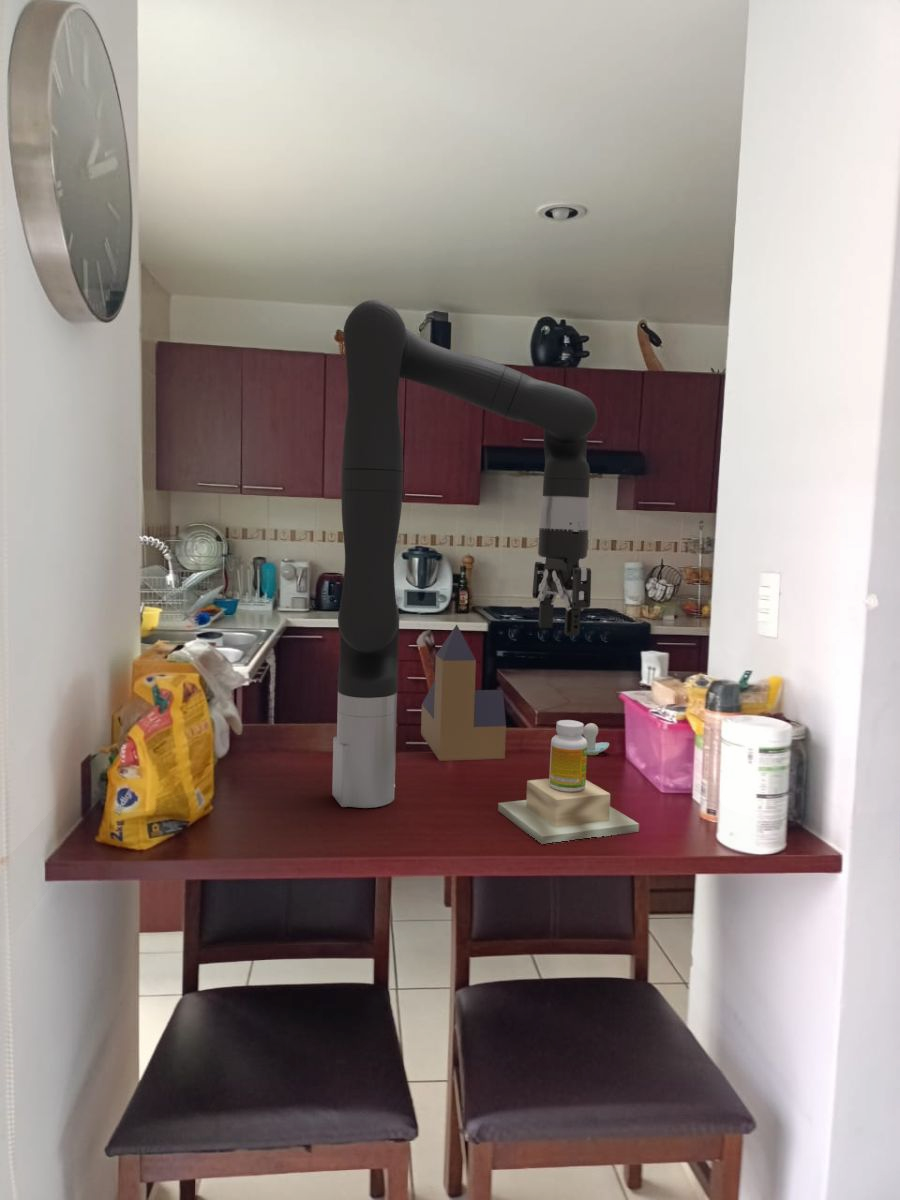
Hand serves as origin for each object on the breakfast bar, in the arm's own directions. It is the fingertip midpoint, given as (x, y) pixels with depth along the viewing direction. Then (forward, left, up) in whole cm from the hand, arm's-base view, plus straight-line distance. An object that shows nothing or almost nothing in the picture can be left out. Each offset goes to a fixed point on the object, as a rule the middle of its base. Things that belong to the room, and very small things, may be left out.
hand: (558, 631), depth 129 cm
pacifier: (+21, +23, -28) cm, 42 cm away
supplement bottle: (-2, -8, -23) cm, 24 cm away
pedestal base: (-2, -8, -28) cm, 29 cm away
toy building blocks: (-1, +34, -28) cm, 44 cm away
